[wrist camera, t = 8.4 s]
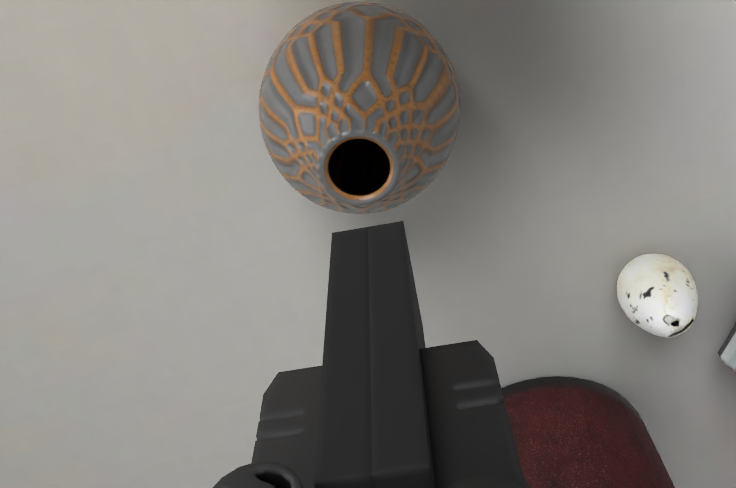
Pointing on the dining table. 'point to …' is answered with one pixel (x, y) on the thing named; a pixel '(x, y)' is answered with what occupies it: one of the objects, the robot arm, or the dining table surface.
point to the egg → (658, 294)
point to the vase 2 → (580, 436)
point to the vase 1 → (359, 107)
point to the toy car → (729, 350)
